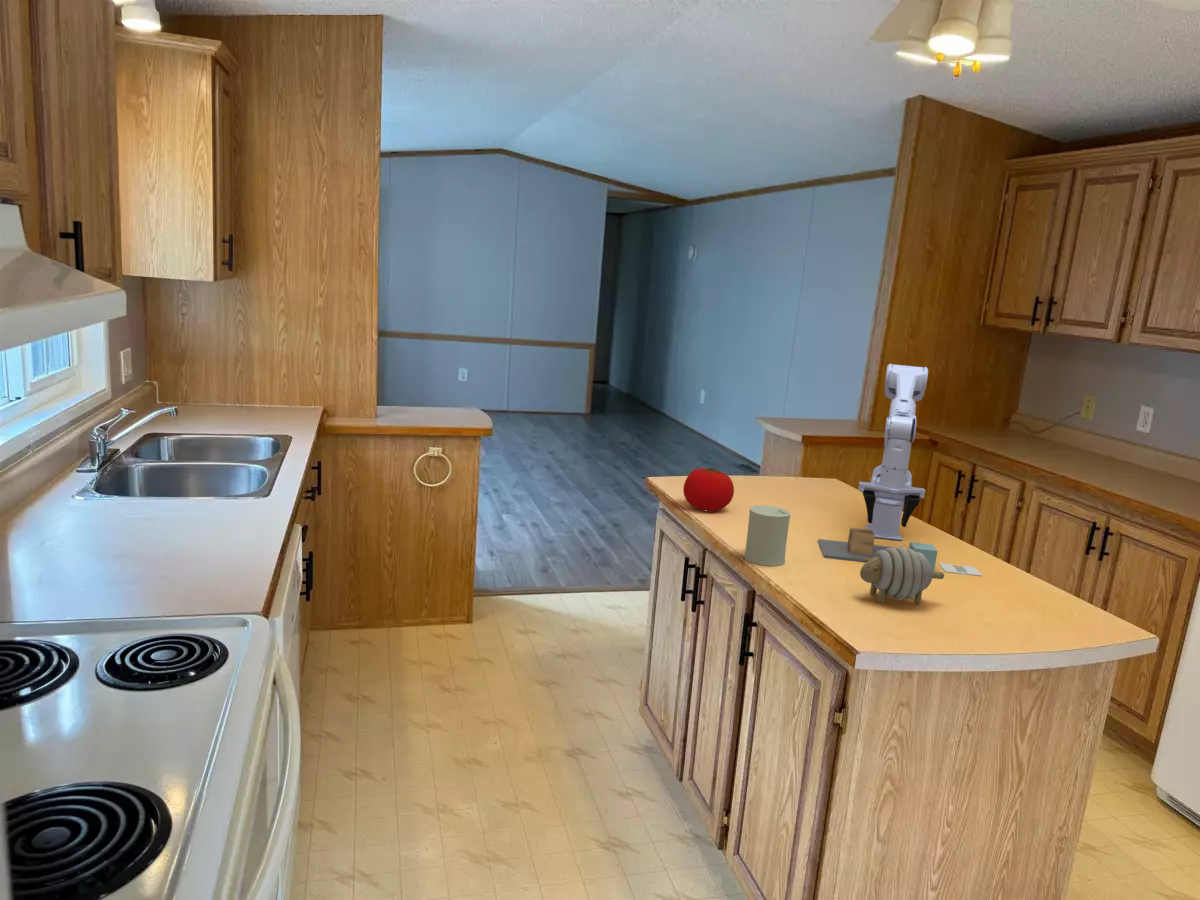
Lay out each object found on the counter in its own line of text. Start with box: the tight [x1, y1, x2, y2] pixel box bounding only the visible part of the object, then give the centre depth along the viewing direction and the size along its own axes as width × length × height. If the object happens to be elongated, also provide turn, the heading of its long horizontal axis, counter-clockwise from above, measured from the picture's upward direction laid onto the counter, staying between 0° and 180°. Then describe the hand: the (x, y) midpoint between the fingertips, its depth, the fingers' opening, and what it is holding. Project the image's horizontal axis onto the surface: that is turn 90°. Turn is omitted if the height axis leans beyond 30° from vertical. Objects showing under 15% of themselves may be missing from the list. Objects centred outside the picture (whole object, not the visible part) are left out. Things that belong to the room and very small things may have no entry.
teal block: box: [908, 541, 938, 571], centre depth 192 cm, size 5×5×5 cm
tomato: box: [682, 467, 735, 512], centre depth 228 cm, size 13×14×12 cm
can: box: [743, 504, 791, 567], centre depth 188 cm, size 9×9×12 cm
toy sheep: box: [859, 546, 945, 606], centre depth 169 cm, size 11×17×11 cm, turn 96°
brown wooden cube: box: [847, 526, 876, 556], centre depth 198 cm, size 5×5×5 cm
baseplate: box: [817, 538, 894, 563], centre depth 199 cm, size 13×18×1 cm
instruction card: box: [938, 562, 983, 577], centre depth 192 cm, size 6×8×1 cm
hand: (886, 524), depth 195 cm, fingers open, 7 cm apart
